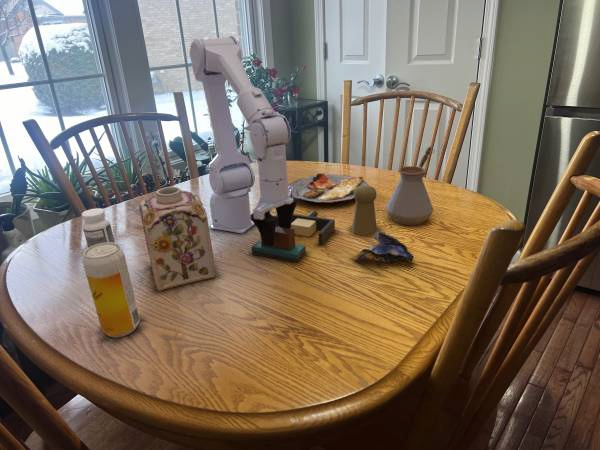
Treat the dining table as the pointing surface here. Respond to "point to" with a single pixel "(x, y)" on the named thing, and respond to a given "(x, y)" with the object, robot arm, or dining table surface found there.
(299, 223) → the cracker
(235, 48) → the robot arm
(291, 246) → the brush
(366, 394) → the dining table surface
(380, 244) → the snack package
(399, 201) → the coffee pot
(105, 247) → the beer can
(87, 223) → the pill bottle
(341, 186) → the food plate
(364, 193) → the olive pepper shaker
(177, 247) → the decorative jar
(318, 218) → the dark grey u-shaped frame
